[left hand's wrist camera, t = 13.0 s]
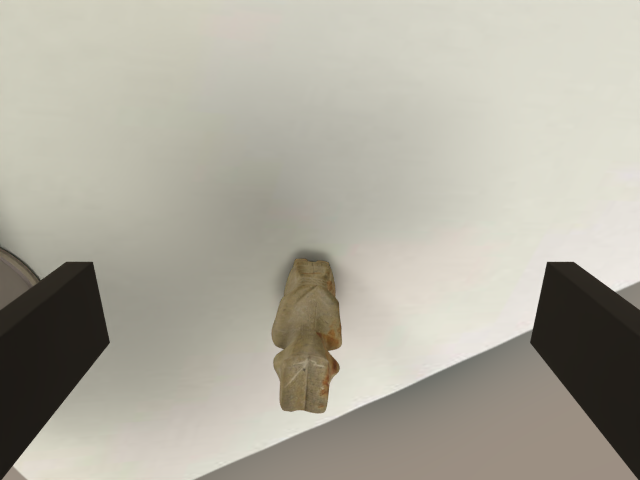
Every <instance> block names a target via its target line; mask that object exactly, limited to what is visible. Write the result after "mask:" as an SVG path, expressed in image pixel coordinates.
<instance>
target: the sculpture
mask: <svg viewBox="0 0 640 480" xmlns="http://www.w3.org/2000/svg"><path fill="white" fill-rule="evenodd" d="M272 340H273V342H274V344H275V345H276V346H277V347H279V348H282V349H284V350H282V351H281V352H280V353H278V354H277V355H276V356H275V358H274V362H273V364H274V369H275V371H276V373H277V374H278V377H279V379H280V405H281V408H282V410H284V411H290V412H292V411H296V410H304V411H308V412H312V413H324V412H325V410H326V407H327V402H328V393H329V384H330V382H331V380H332V378H333V377H334V376H335V375H336V374H337V373H338V372H339V369H340V367H339V364H338V362H337V361H336V360H335V359H334V358H333V357H332V356H331V355H330V353H329V352H328V351H330V350H335V349H337V348H339V347H340V346H341V345H342V336H341V323H340V315H339V302H338V301H337V299H336V298H335V283H334V278H333V274H332V270H331V268H330V265H329V263H328V262H326V261H320V260H318V261H316V262H309V261H308V260H307V259H295V261H294V265H293V268H292V270H291V272H290V274H289V276H288V279H287V283H286V286H285V291H284V297H283V298H282V300H281V302H280V304H279V308H278V311H277V315H276V318H275V321H274V324H273V327H272Z"/></svg>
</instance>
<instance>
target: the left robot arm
mask: <svg viewBox="0 0 640 480" xmlns="http://www.w3.org/2000/svg"><path fill="white" fill-rule="evenodd" d="M109 343H110V341H109V336H108V332H107V327H106V322H105V317H104V313H103V308H102V303H101V298H100V294H99V289H98V284H97V279H96V275H95V270H94V265H93V262H66V263H64V264H63V265H61V266H60V267H59V268H57V269H56V270H55V271H53V272H52V273H50V274H49V275H48V276H46V277H45V278H44V279H42V280H41V281H39V280H38V279H37V277H36V276H35V275H34V274H33V273H32V271H31V270H30V269H29V268H28V267H27V266H26V265H24V264H23V263H22V262H21V261H20V260H18V259H17V258H16V257H14V256H13V255H11V254H10V253H8V252H6V251H5V250H3V249H1V248H0V480H2V478H3V477H4V476H5V475H6V473H7V472H8V471H9V470H10V468H11V467H12V466H13V465H14V463H15V462H16V461H17V460H18V458H19V457H20V456H21V454H22V453H23V452H24V451H25V449H26V448H27V447H28V446H29V444H30V443H31V442H32V441H33V439H34V438H35V437H36V435H37V434H38V433H39V432H40V430H41V429H42V428H43V427H44V425H45V424H46V423H47V422H48V420H49V419H50V418H51V416H52V415H53V414H54V413H55V411H56V410H57V409H58V408H59V406H60V405H61V404H62V403H63V401H64V400H65V399H66V398H67V396H68V395H69V394H70V392H71V391H72V390H73V389H74V387H75V386H76V385H77V384H78V382H79V381H80V380H81V379H82V377H83V376H84V375H85V373H86V372H87V371H88V370H89V368H90V367H91V366H92V365H93V363H94V362H95V361H96V360H97V358H98V357H99V356H100V354H101V353H102V352H103V351H104V349H105V348H106V347H107V346H108V344H109ZM530 343H531V344H532V346H533V347H534V348H535V349H536V351H537V352H538V353H539V354H540V356H541V357H542V358H543V360H544V361H545V362H546V363H547V365H548V366H549V367H550V368H551V370H552V371H553V372H554V373H555V375H556V376H557V377H558V379H559V380H560V381H561V382H562V384H563V385H564V386H565V387H566V389H567V390H568V391H569V392H570V394H571V395H572V396H573V397H574V399H575V400H576V401H577V403H578V404H579V405H580V406H581V408H582V409H583V410H584V411H585V413H586V414H587V415H588V416H589V418H590V419H591V420H592V422H593V423H594V424H595V425H596V427H597V428H598V429H599V430H600V432H601V433H602V434H603V435H604V437H605V438H606V439H607V441H608V442H609V443H610V444H611V446H612V447H613V448H614V449H615V451H616V452H617V453H618V454H619V456H620V457H621V458H622V460H623V461H624V462H625V463H626V465H627V466H628V467H629V468H630V470H631V471H632V472H633V473H634V475H635V476H636V477H637V478H638V480H640V310H639V309H637V308H636V307H635V306H633V305H632V304H631V303H629V302H628V301H626V300H625V299H624V298H622V297H621V296H620V295H618V294H617V293H616V292H614V291H613V290H611V289H610V288H609V287H607V286H606V285H605V284H603V283H602V282H600V281H599V280H598V279H596V278H595V277H594V276H592V275H591V274H590V273H588V272H587V271H585V270H584V269H583V268H581V267H580V266H579V265H577V264H576V263H574V262H547V265H546V270H545V275H544V279H543V284H542V289H541V294H540V298H539V303H538V308H537V313H536V317H535V322H534V327H533V332H532V337H531V341H530Z"/></svg>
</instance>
